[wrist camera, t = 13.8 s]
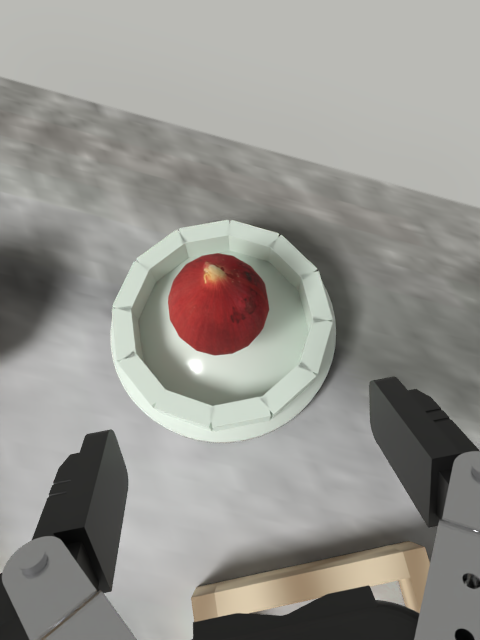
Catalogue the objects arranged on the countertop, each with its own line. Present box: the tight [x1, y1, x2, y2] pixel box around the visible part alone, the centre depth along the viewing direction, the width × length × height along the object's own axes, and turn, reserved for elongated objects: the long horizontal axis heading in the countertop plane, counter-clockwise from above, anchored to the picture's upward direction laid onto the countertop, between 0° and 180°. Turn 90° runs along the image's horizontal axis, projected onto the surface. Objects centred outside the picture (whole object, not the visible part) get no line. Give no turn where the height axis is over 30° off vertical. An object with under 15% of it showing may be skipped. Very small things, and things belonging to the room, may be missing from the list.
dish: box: [111, 220, 336, 443], centre depth 28 cm, size 15×15×3 cm
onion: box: [168, 253, 269, 356], centre depth 25 cm, size 6×6×8 cm
